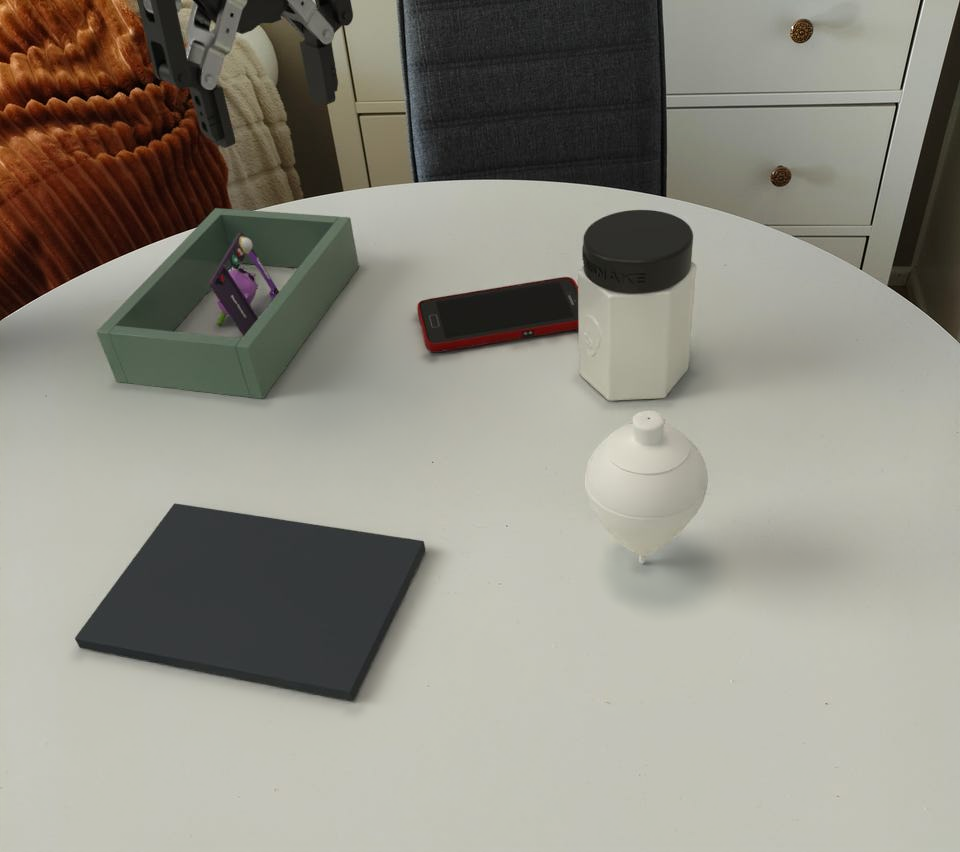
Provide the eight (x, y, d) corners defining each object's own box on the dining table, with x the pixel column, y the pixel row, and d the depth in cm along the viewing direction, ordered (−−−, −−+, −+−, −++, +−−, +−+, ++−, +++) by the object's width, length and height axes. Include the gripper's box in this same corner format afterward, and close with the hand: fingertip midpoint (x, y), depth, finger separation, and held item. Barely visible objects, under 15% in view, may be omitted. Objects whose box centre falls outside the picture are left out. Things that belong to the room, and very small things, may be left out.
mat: (79, 648, 69) (73, 638, 68) (178, 512, 78) (174, 502, 77) (353, 702, 64) (350, 692, 63) (426, 550, 73) (424, 540, 72)
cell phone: (416, 310, 94) (415, 300, 93) (573, 284, 95) (573, 274, 94) (427, 355, 89) (426, 345, 88) (593, 328, 90) (593, 318, 89)
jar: (562, 363, 87) (559, 227, 78) (643, 333, 89) (649, 196, 80) (620, 416, 81) (624, 276, 72) (705, 382, 83) (719, 242, 74)
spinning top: (721, 558, 70) (740, 412, 61) (649, 621, 67) (658, 476, 58) (634, 510, 74) (640, 366, 65) (562, 566, 71) (557, 423, 62)
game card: (218, 279, 88) (248, 228, 94) (170, 297, 90) (202, 246, 96) (261, 344, 92) (287, 291, 98) (214, 361, 94) (242, 308, 100)
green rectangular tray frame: (116, 381, 91) (95, 331, 87) (228, 256, 104) (215, 207, 101) (262, 399, 87) (248, 347, 83) (359, 266, 101) (350, 217, 97)
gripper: (273, -203, 64) (322, 77, 76) (68, -151, 58) (157, 144, 70) (348, -193, 60) (387, 101, 72) (136, -136, 54) (218, 174, 66)
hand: (274, 122), depth 71 cm, fingers open, 8 cm apart
